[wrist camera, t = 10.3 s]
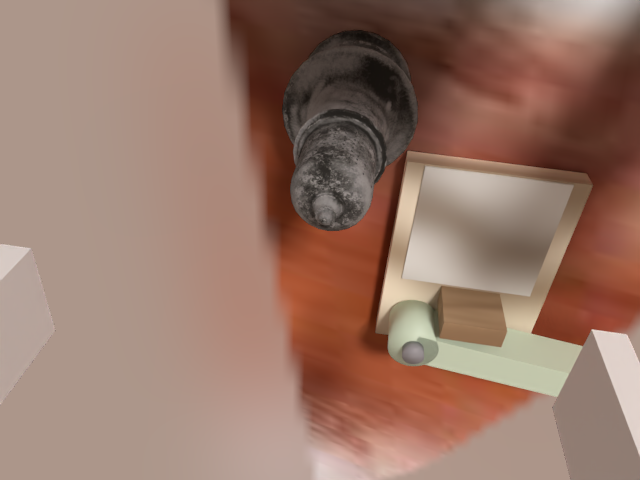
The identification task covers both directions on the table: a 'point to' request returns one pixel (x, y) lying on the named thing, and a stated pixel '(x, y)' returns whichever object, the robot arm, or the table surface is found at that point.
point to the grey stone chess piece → (346, 125)
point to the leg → (480, 352)
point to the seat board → (479, 242)
